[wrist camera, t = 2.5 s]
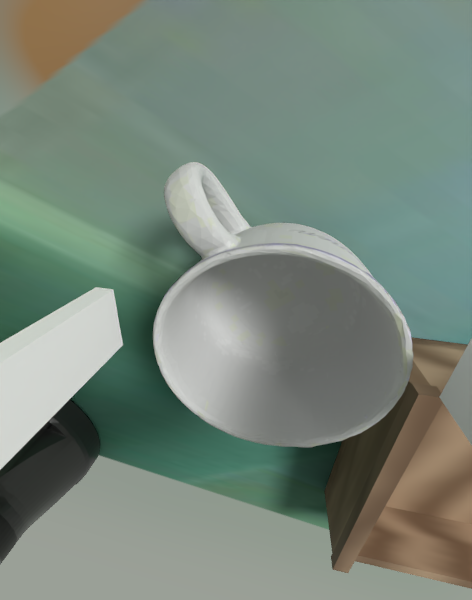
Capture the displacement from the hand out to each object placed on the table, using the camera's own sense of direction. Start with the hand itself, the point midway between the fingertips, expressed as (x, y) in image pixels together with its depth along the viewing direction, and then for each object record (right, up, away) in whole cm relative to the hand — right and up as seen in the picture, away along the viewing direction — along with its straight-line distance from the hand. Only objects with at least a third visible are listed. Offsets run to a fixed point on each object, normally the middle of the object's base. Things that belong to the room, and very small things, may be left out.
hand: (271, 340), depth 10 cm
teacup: (+1, +3, +7) cm, 8 cm away
